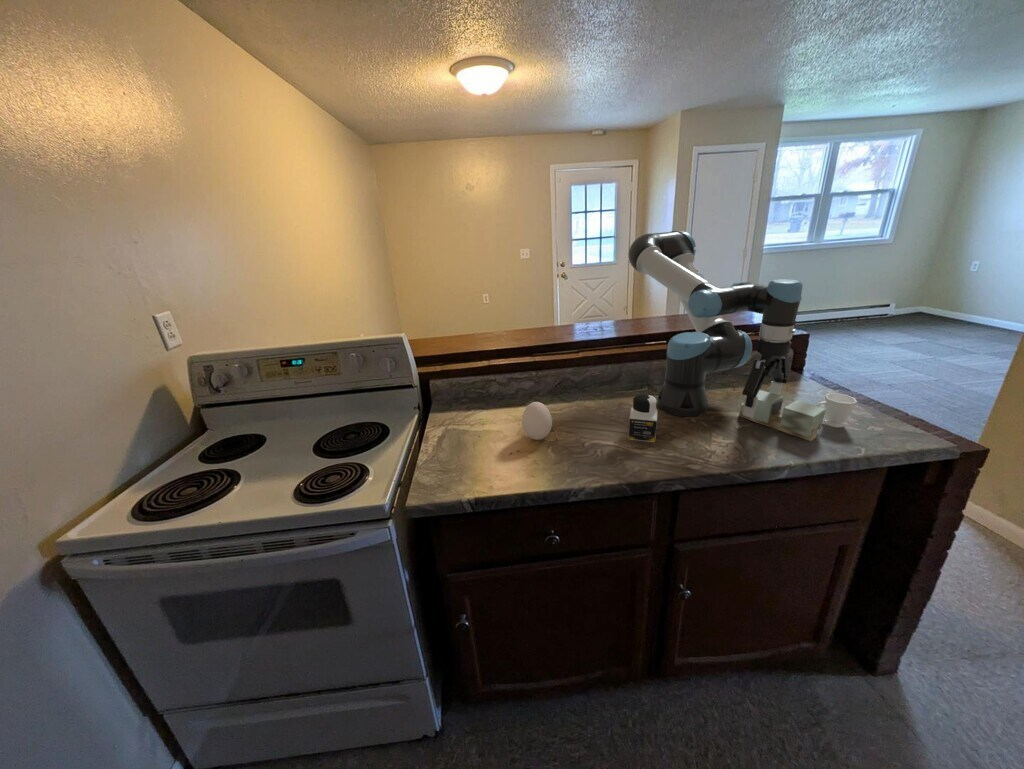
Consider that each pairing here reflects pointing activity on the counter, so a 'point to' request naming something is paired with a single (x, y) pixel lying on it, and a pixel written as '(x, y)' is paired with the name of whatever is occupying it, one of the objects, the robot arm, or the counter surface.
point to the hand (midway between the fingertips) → (760, 409)
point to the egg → (536, 421)
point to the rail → (777, 423)
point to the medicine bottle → (643, 418)
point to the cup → (837, 409)
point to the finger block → (766, 405)
